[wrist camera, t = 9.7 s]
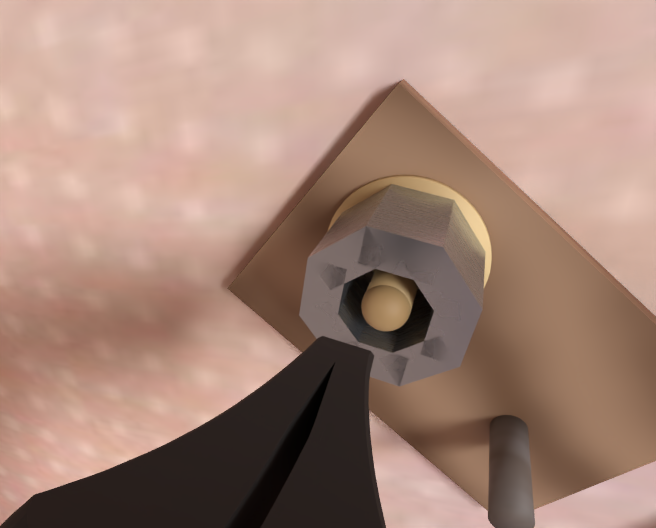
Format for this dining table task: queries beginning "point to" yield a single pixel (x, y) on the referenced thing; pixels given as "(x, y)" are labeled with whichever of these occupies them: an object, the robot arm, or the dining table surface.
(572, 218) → the dining table surface
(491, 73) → the dining table surface
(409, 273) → the collar
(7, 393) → the dining table surface
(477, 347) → the board
